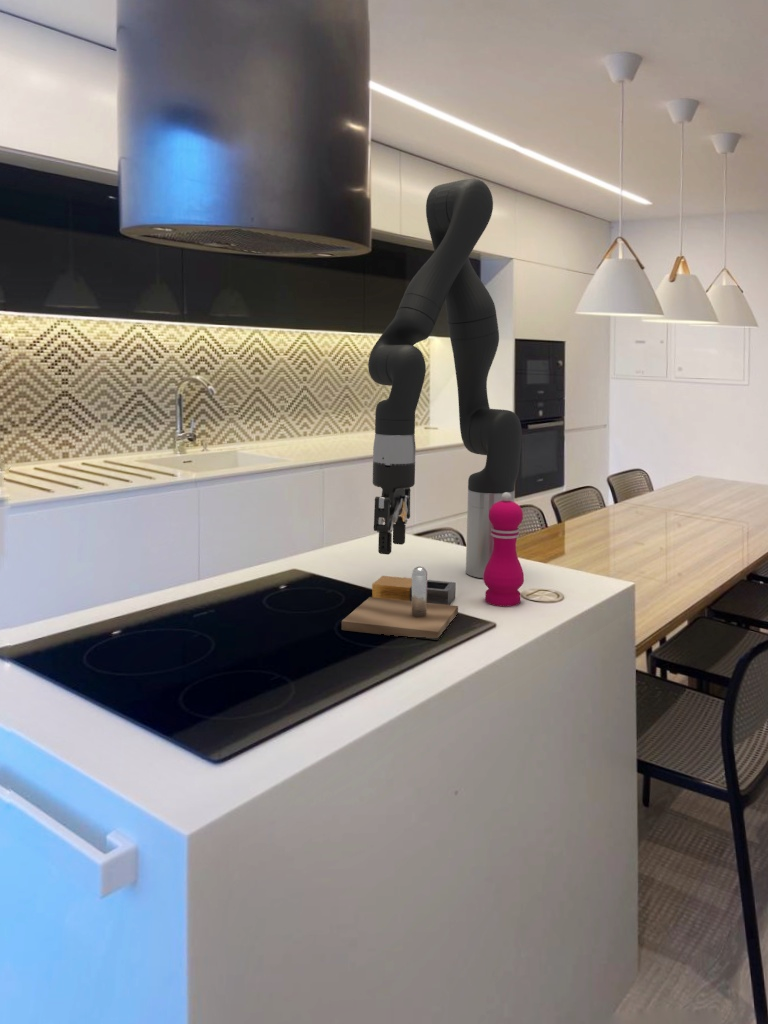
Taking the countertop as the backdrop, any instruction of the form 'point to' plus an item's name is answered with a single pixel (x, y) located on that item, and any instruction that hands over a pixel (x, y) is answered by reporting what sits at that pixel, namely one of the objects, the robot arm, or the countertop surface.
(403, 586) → the link
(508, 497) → the pepper mill
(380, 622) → the board
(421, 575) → the post
